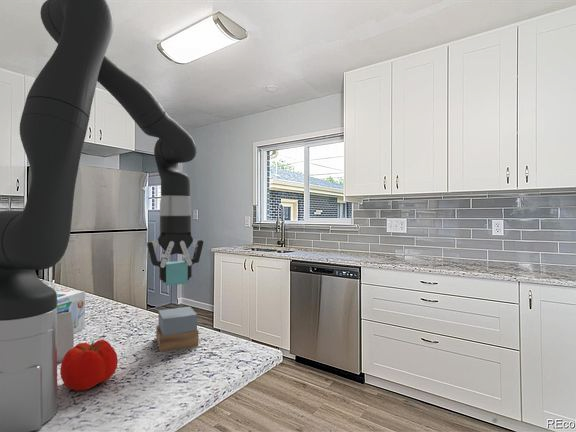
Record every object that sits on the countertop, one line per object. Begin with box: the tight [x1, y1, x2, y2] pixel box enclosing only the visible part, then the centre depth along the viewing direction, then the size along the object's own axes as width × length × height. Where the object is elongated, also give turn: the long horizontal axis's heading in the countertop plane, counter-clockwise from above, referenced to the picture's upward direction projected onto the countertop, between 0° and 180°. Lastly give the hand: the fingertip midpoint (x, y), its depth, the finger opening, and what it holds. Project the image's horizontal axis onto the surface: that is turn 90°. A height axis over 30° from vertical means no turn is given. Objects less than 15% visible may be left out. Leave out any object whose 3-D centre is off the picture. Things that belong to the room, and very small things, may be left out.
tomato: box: [59, 339, 119, 391], centre depth 65 cm, size 9×9×8 cm
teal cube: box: [164, 260, 189, 286], centre depth 85 cm, size 5×5×5 cm
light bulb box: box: [56, 289, 86, 334], centre depth 91 cm, size 11×7×11 cm, turn 168°
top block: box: [158, 306, 198, 336], centre depth 85 cm, size 8×8×4 cm
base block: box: [155, 324, 200, 353], centre depth 85 cm, size 9×9×4 cm
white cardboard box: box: [57, 312, 75, 363], centre depth 75 cm, size 4×7×10 cm, turn 137°
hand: (175, 280), depth 85 cm, fingers closed on teal cube, 5 cm apart
